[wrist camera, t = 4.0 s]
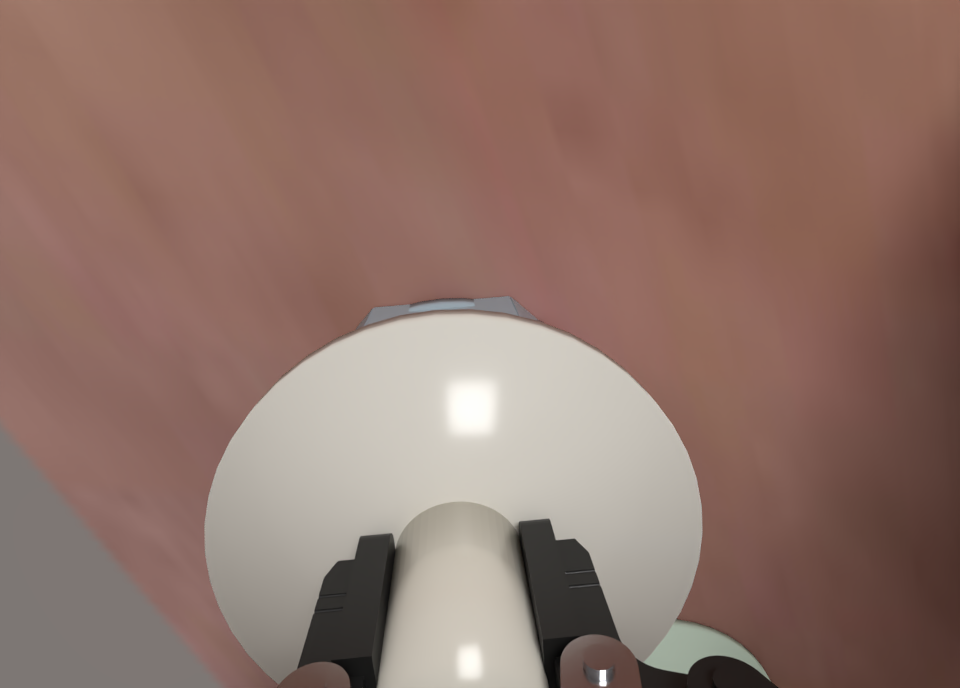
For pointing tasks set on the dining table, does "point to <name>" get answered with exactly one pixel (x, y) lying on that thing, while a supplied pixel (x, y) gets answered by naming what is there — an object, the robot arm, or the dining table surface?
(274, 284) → the dining table surface
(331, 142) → the dining table surface
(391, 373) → the lid
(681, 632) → the disc
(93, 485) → the dining table surface
